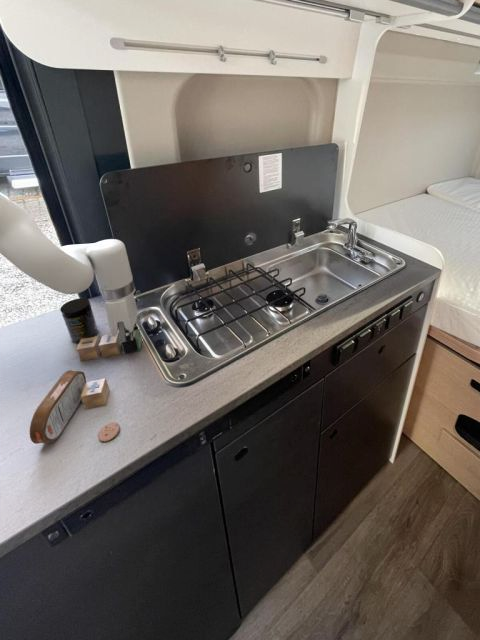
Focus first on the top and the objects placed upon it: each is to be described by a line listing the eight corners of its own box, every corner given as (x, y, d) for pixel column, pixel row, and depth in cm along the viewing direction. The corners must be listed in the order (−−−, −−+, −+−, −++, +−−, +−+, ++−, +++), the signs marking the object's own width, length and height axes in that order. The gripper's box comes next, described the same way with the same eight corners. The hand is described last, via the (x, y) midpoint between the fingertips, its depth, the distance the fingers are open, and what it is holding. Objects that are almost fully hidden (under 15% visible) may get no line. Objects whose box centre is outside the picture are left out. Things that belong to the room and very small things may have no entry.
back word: (80, 362, 84) (75, 350, 82) (85, 349, 88) (81, 337, 86) (141, 351, 87) (138, 339, 86) (143, 339, 92) (140, 327, 90)
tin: (79, 388, 76) (68, 361, 73) (92, 388, 76) (83, 361, 73) (35, 453, 63) (20, 424, 59) (53, 452, 63) (39, 423, 59)
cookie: (119, 420, 69) (118, 417, 69) (120, 437, 66) (119, 433, 65) (98, 428, 67) (97, 425, 67) (98, 445, 64) (96, 442, 64)
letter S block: (124, 352, 87) (120, 340, 85) (126, 342, 90) (123, 330, 88) (140, 349, 88) (137, 337, 86) (142, 339, 91) (139, 328, 89)
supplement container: (100, 337, 92) (90, 307, 87) (71, 347, 88) (60, 316, 84) (97, 324, 97) (88, 295, 92) (70, 333, 93) (60, 303, 89)
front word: (85, 409, 71) (80, 396, 70) (90, 394, 75) (85, 381, 73) (105, 405, 72) (101, 392, 71) (109, 390, 76) (105, 377, 74)
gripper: (108, 273, 87) (123, 327, 95) (91, 310, 73) (111, 371, 80) (138, 269, 89) (150, 323, 97) (128, 305, 75) (144, 364, 82)
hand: (132, 344), depth 89 cm, fingers closed on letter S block, 3 cm apart
